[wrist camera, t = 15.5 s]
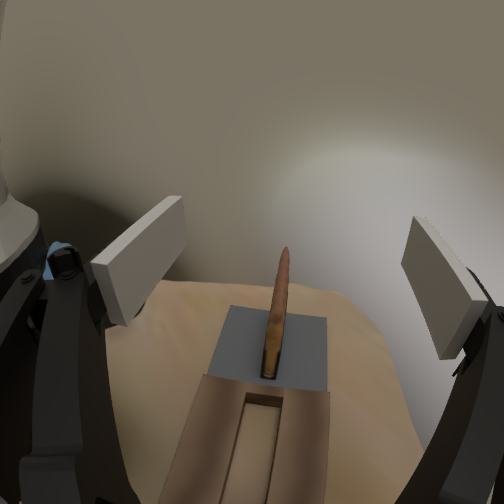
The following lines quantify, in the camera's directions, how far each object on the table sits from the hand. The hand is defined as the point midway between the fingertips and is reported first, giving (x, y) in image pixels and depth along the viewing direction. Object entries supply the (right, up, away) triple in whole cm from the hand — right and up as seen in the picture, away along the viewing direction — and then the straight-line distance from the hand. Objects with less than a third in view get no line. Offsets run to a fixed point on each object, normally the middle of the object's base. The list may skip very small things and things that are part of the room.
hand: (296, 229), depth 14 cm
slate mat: (+1, -14, +22) cm, 26 cm away
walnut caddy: (-2, -22, +9) cm, 24 cm away
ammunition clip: (+1, -13, +22) cm, 25 cm away
